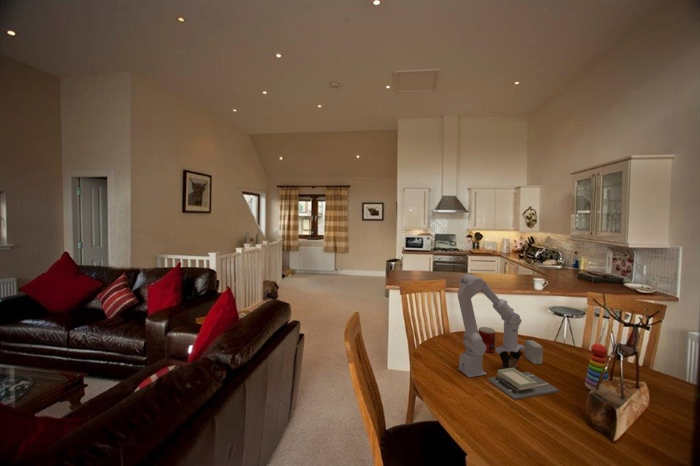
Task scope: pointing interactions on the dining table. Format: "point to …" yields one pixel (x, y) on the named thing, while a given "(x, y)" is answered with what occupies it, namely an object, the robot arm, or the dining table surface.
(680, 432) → the dining table surface
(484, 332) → the canned food
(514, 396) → the track
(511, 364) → the walnut block
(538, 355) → the medicine box
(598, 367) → the stacking toy
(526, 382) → the cream tray
